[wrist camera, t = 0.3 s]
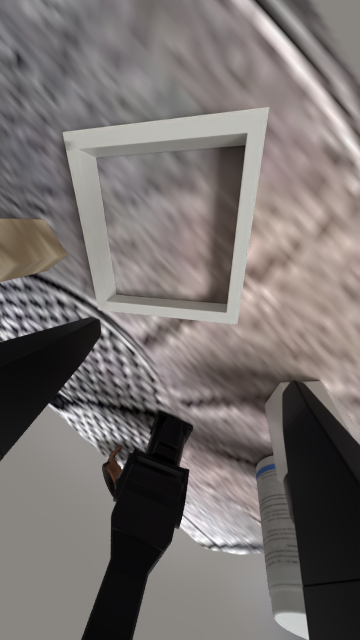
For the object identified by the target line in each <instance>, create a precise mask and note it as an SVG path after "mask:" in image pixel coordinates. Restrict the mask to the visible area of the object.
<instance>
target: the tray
mask: <svg viewBox="0 0 360 640" xmlns="http://www.w3.org/2000/svg"><path fill="white" fill-rule="evenodd" d="M268 112H269V107H266V108H258V109H249V110H241V111H233V112H225V113H216V114H208V115H200V116H191V117H183V118H175V119H167V120H158V121H150V122H142V123H134V124H125V125H117V126H109V127H101V128H92V129H84V130H76V131H67V132H63V137H64V142H65V147H66V151H67V156H68V161H69V166H70V171H71V176H72V181H73V186H74V191H75V196H76V201H77V206H78V211H79V215H80V220H81V225H82V230H83V235H84V240H85V245H86V250H87V255H88V260H89V265H90V270H91V275H92V280H93V284H94V289H95V294H96V299H97V304H98V309H99V310H105V311H115V312H124V313H134V314H143V315H153V316H162V317H171V318H181V319H190V320H200V321H209V322H218V323H228V324H237V322H238V315H239V309H240V302H241V295H242V288H243V281H244V275H245V268H246V261H247V254H248V247H249V241H250V234H251V227H252V220H253V214H254V207H255V200H256V193H257V186H258V180H259V173H260V166H261V159H262V153H263V146H264V139H265V132H266V125H267V119H268ZM243 145H246V146H245V155H244V163H243V172H242V181H241V189H240V198H239V207H238V215H237V224H236V233H235V241H234V250H233V258H232V267H231V276H230V284H229V293H228V302H227V304H219V303H208V302H196V301H184V300H173V299H161V298H149V297H138V296H126V295H117V293H116V287H115V280H114V274H113V267H112V260H111V254H110V247H109V241H108V234H107V228H106V221H105V215H104V208H103V201H102V195H101V188H100V182H99V175H98V169H97V162H96V158H99V157H111V156H123V155H135V154H147V153H159V152H171V151H183V150H195V149H207V148H219V147H231V146H243Z"/></svg>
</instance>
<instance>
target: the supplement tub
mask: <svg viewBox="0 0 360 640" xmlns="http://www.w3.org/2000/svg"><path fill="white" fill-rule="evenodd" d="M256 480H257V489H258V498H259V508H260V517H261V526H262V535H263V545H264V554H265V563H266V572H267V581H268V588H269V594H270V598H271V603H272V611H273V616H274V618H275V620H276V621H277V623H279V624H280V625H281V626H282V627H284V628H285V629H287V630H288V631H290V632H292V633H294V634H296V635H298V636H300V637H303V638H305V639H307V640H309V636H308V628H307V620H306V612H305V604H304V597H303V589H302V587H303V585H302V580H301V572H300V564H299V556H298V548H297V540H296V533H295V525H294V523H293V522H292V520H291V518H290V515H289V510H288V505H287V500H286V494H285V489H284V486H283V485H282V484H281V483H280V482H279V481H278V478H277V472H276V467H275V461H274V455H272V456H268V457H266V458H264V459H262V460H261V461H260V462H259V463H258V464H257V467H256Z"/></svg>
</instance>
